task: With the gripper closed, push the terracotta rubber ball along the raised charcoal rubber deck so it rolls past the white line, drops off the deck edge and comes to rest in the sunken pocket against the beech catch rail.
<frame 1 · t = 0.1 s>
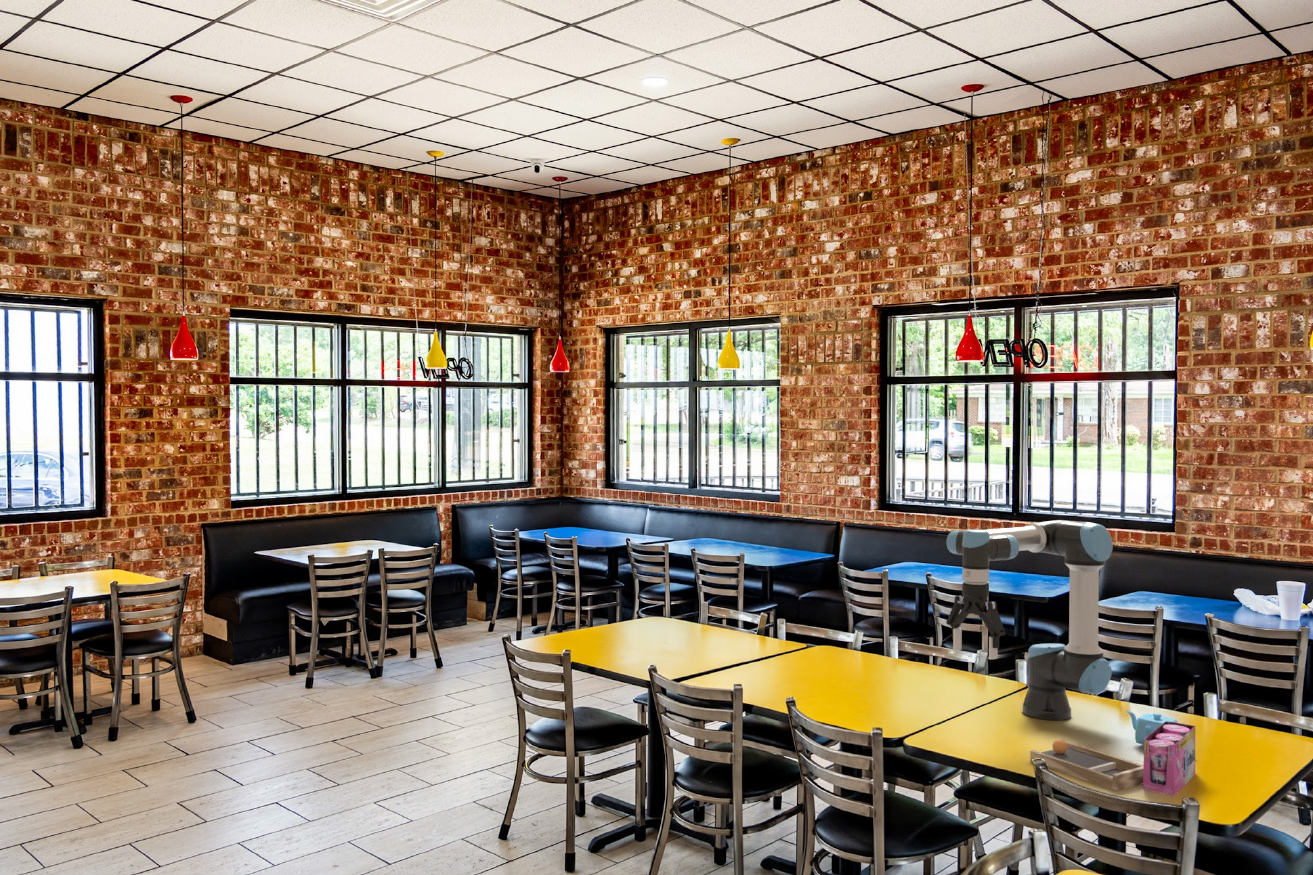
hand: (974, 654, 301), 28 cm above the table, fingers open, 13 cm apart
mat: (1089, 766, 283), in the lane rails
teapot: (1155, 748, 302), on the table
ball: (1060, 746, 291), point 4 cm above the table, touching mat
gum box: (1169, 783, 274), on the table, touching lane rails
lane rails: (1087, 769, 283), on the table
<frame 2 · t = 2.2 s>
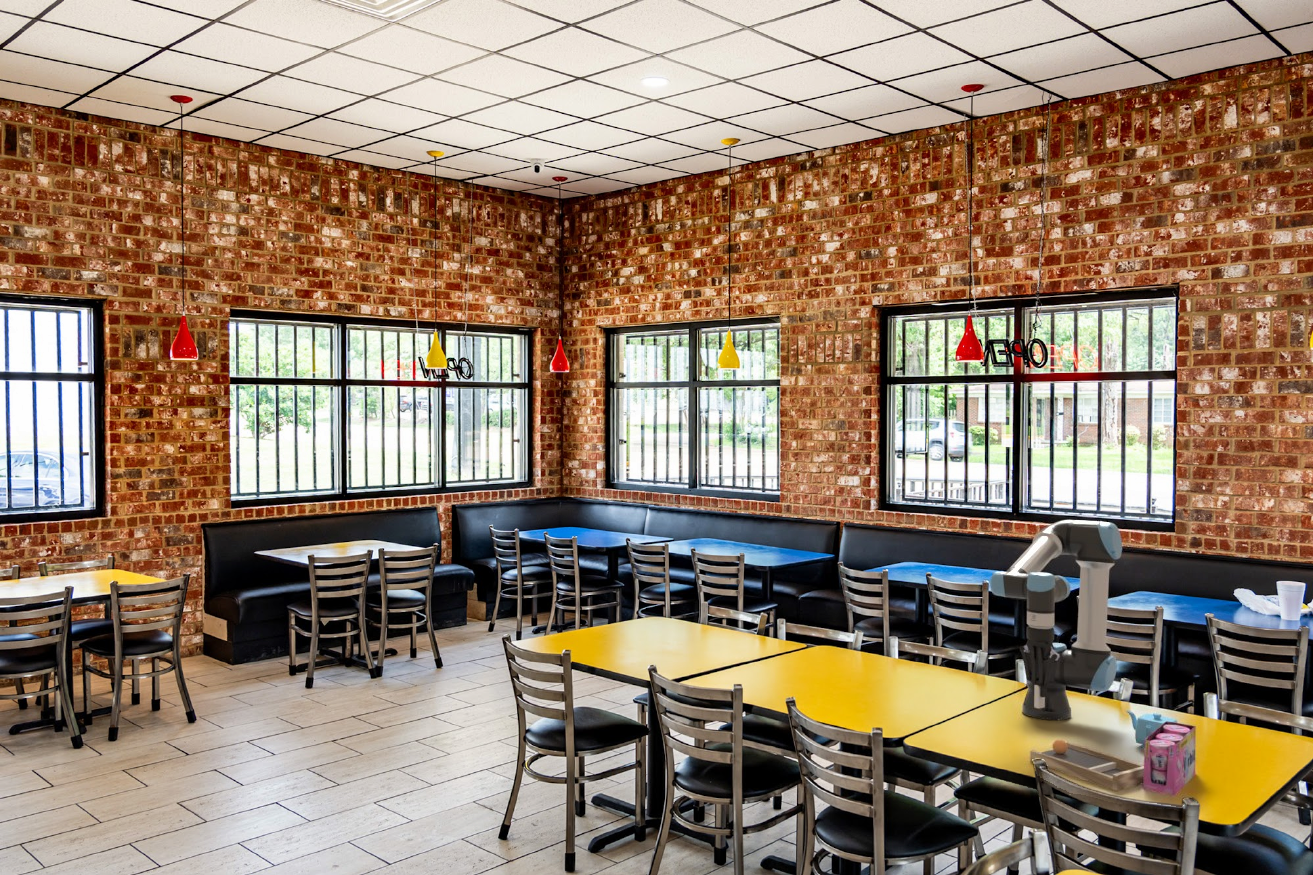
hand: (1039, 707, 297), 14 cm above the table, fingers closed
nothing on the table moved.
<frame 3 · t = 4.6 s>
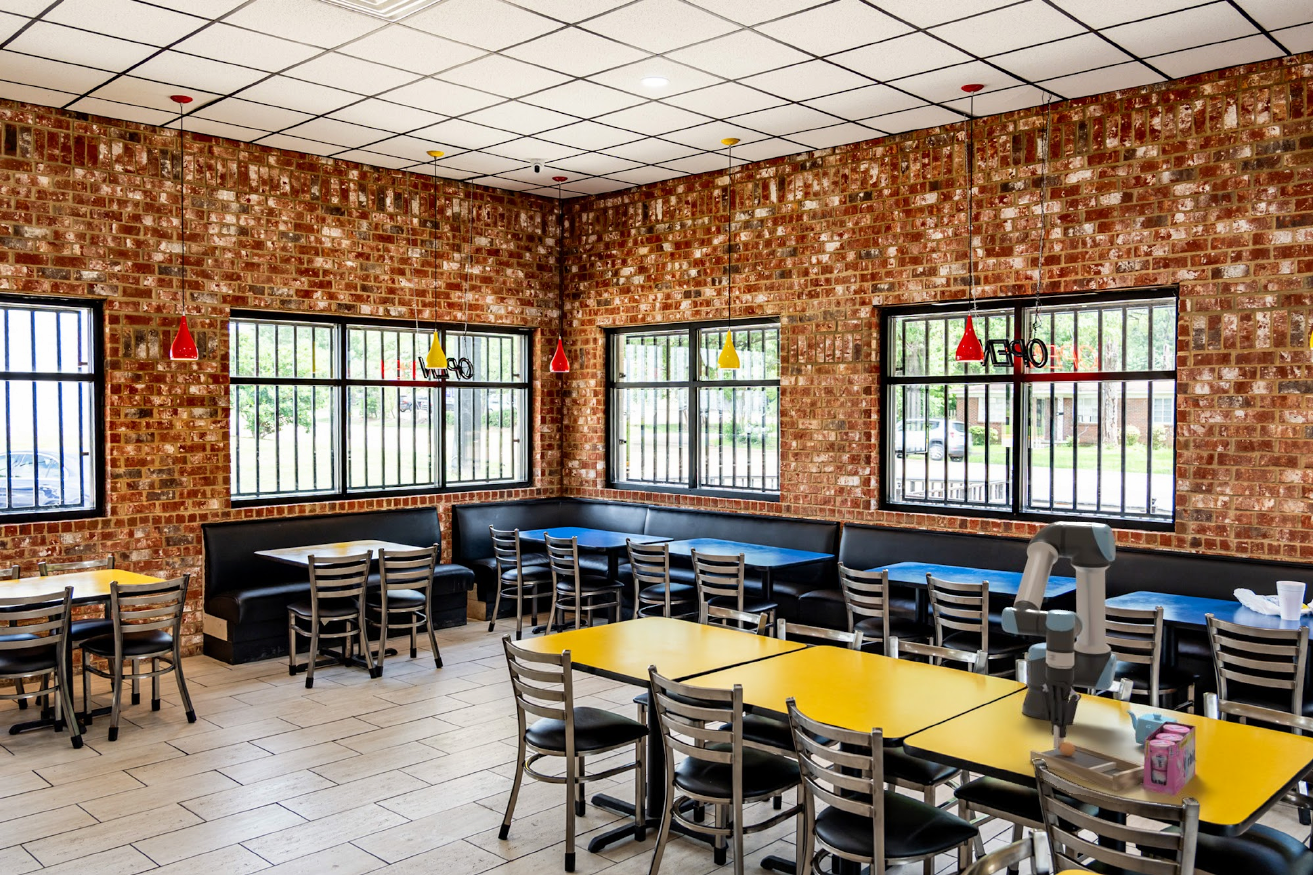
hand: (1058, 747, 291), 3 cm above the table, fingers closed
ball: (1067, 749, 289), point 4 cm above the table, tilted 67°, touching gripper, mat
everything else where it was.
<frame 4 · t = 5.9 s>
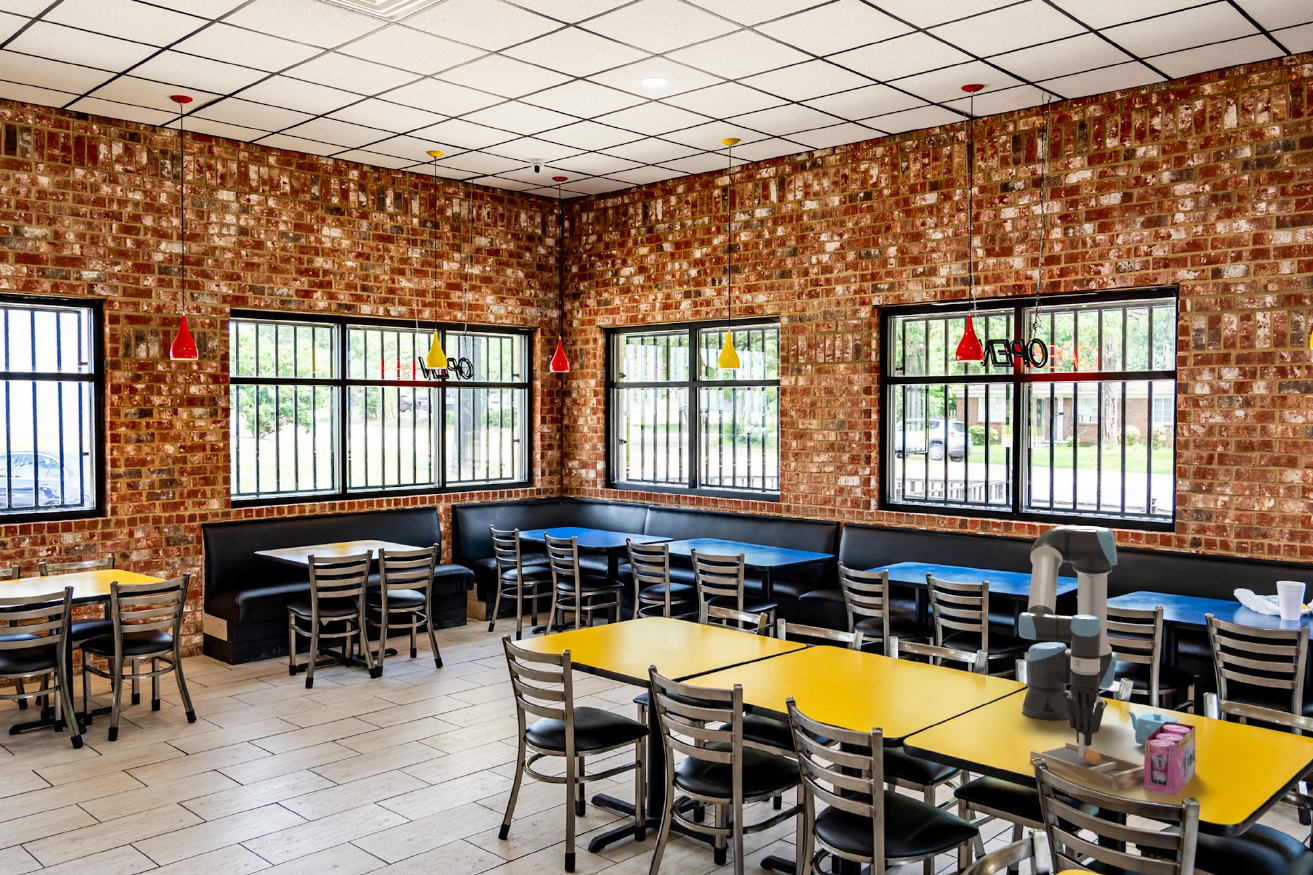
hand: (1083, 756, 284), 3 cm above the table, fingers closed
ball: (1092, 757, 282), point 4 cm above the table, tilted 82°, touching gripper, mat
everything else where it was.
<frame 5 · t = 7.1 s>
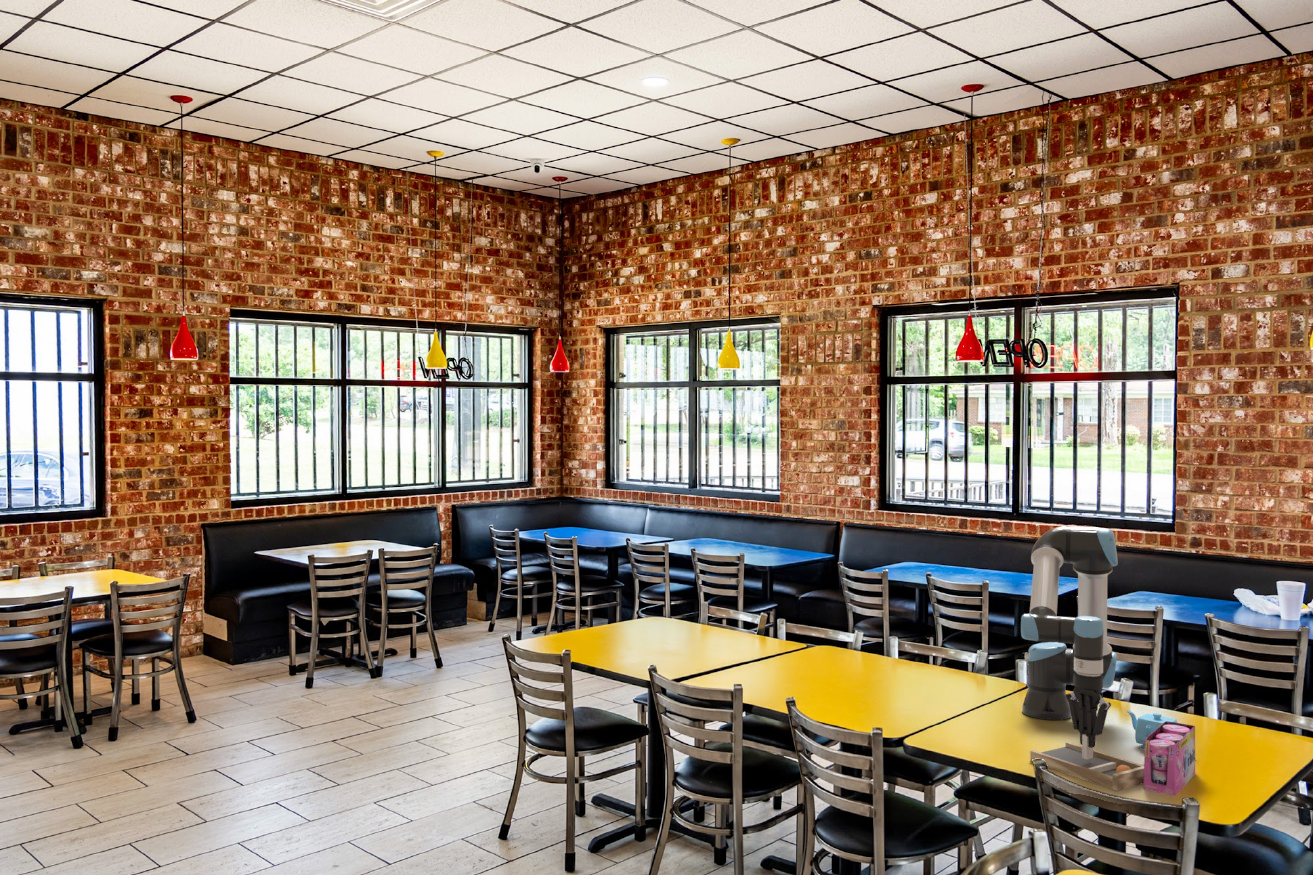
hand: (1087, 757, 283), 3 cm above the table, fingers closed
ball: (1124, 772, 274), point 2 cm above the table, tilted 156°, touching mat
everything else where it was.
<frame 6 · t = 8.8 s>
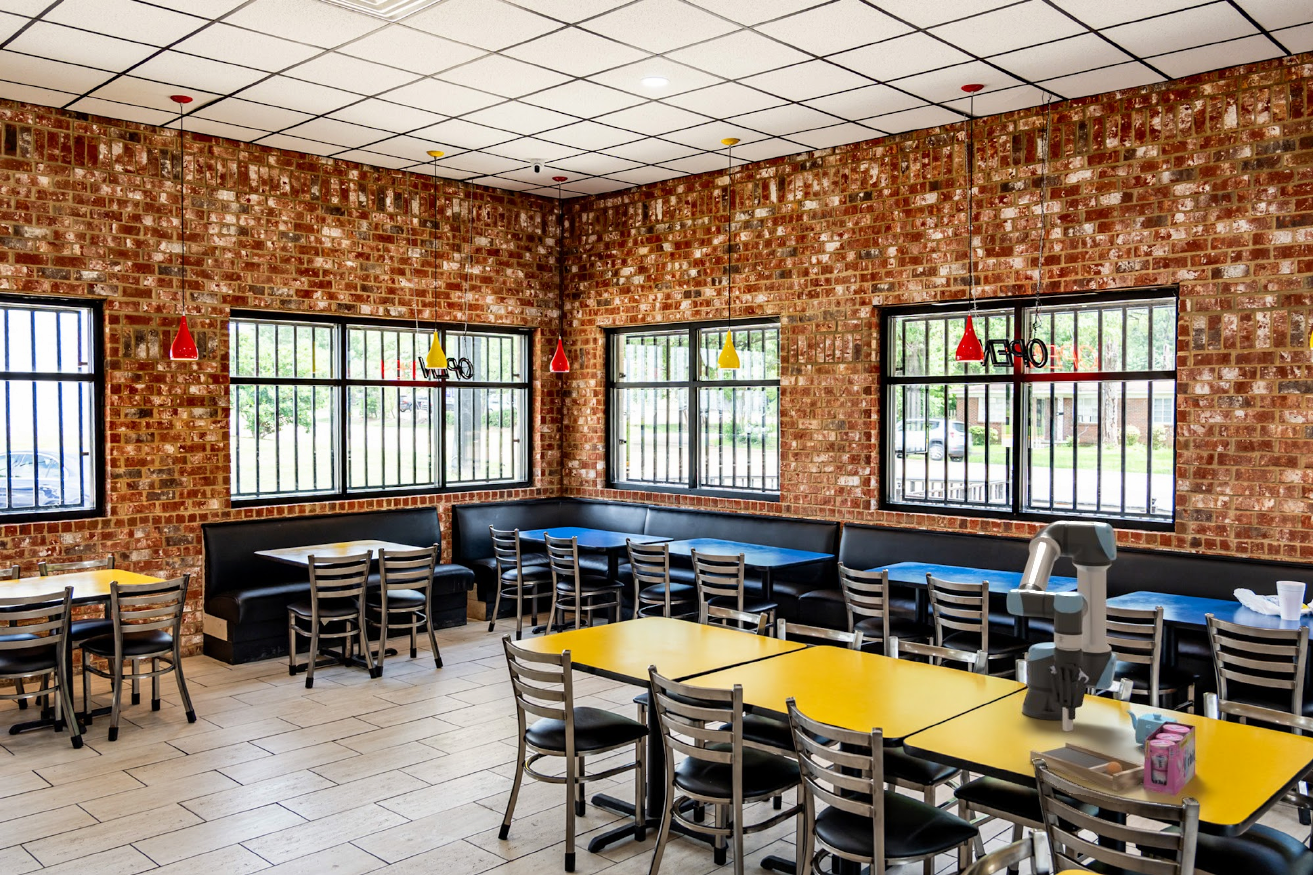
hand: (1067, 729, 289), 9 cm above the table, fingers closed
ball: (1114, 769, 276), point 2 cm above the table, tilted 120°, touching mat
everything else where it was.
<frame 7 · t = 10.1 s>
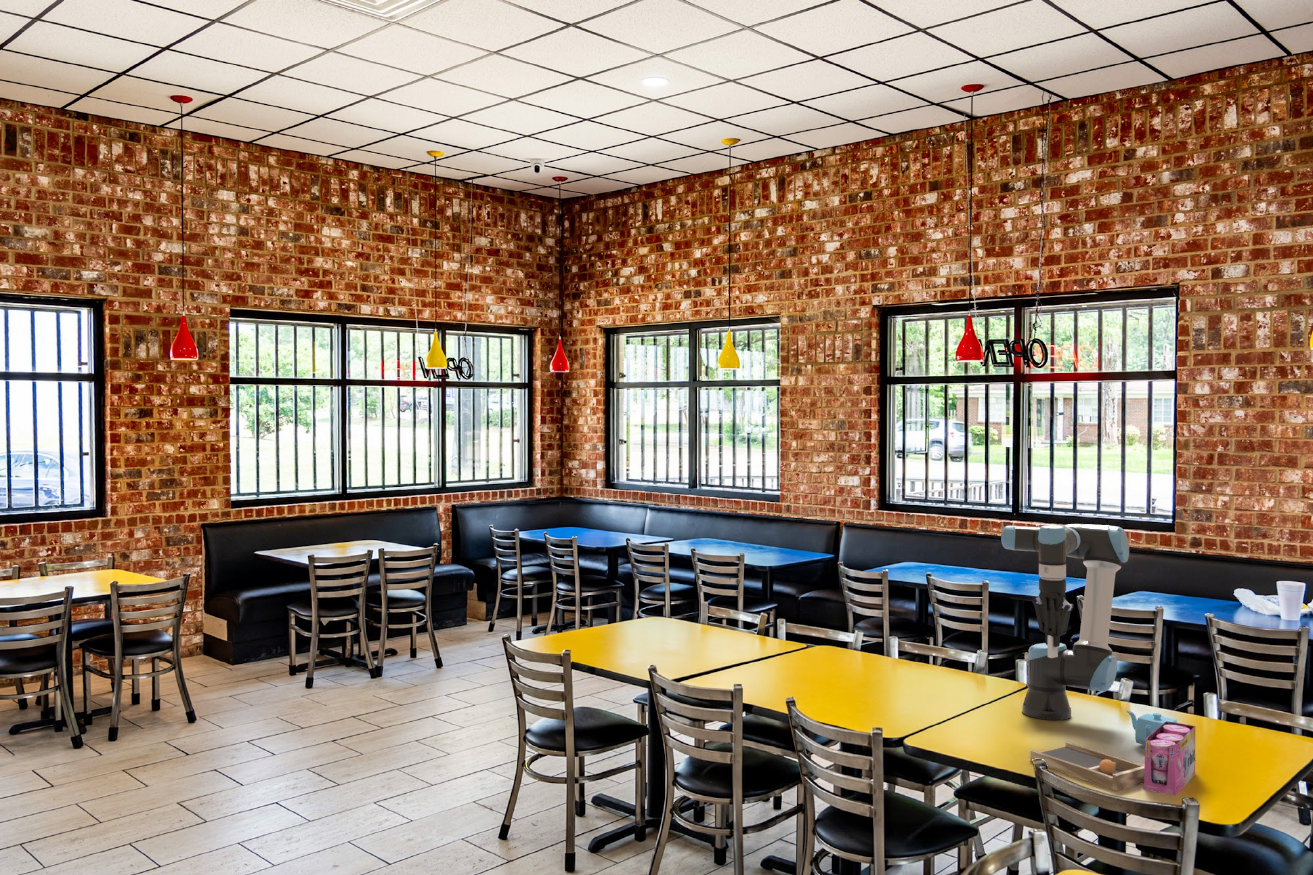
hand: (1052, 656, 303), 27 cm above the table, fingers closed
ball: (1107, 766, 278), point 2 cm above the table, tilted 58°, touching mat
everything else where it was.
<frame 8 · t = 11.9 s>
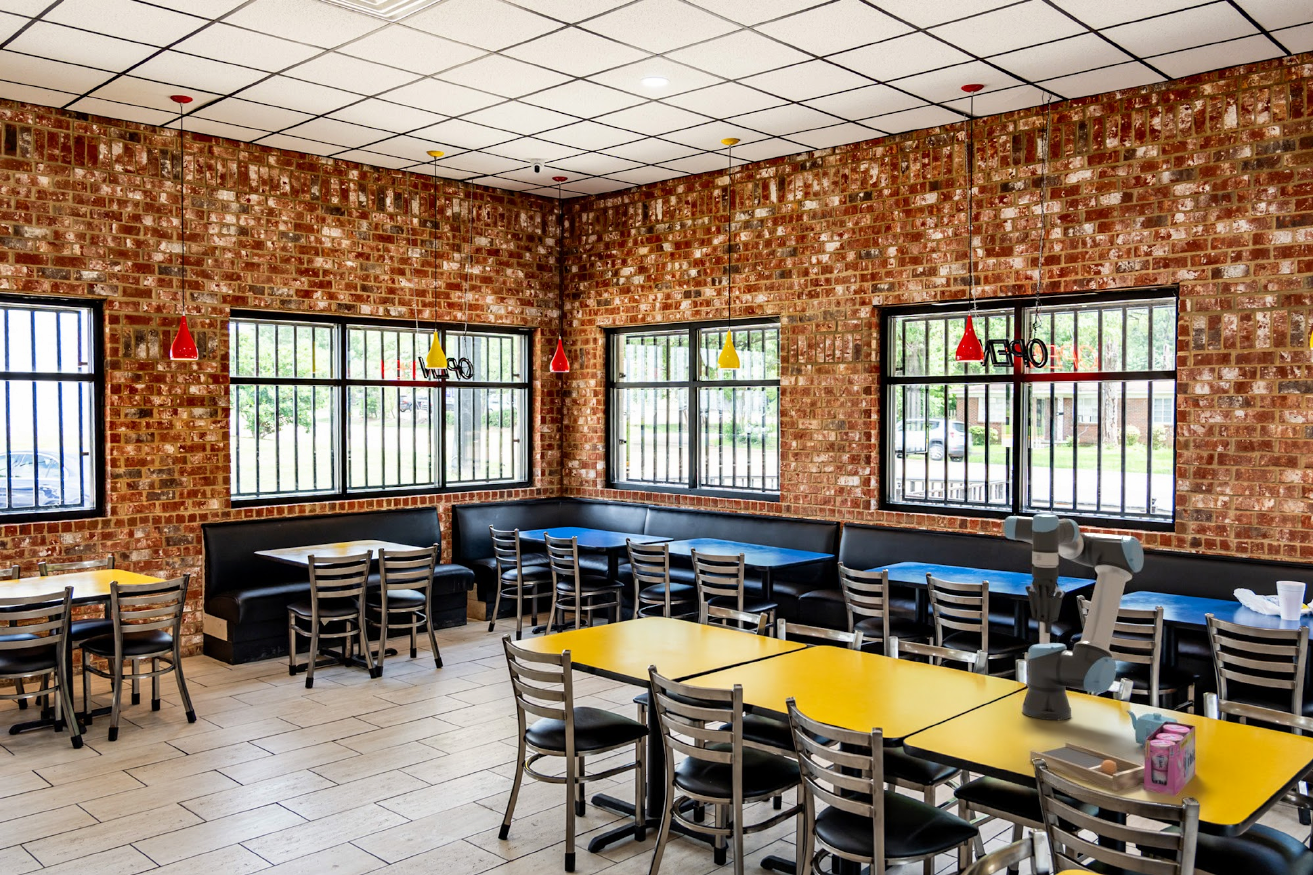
hand: (1044, 643, 310), 29 cm above the table, fingers closed
ball: (1109, 767, 278), point 2 cm above the table, tilted 74°, touching mat
everything else where it was.
at the end: ball inside the target area (2.5 cm from its centre), point 2.3 cm above the table; ball moved 15.6 cm from its start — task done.
